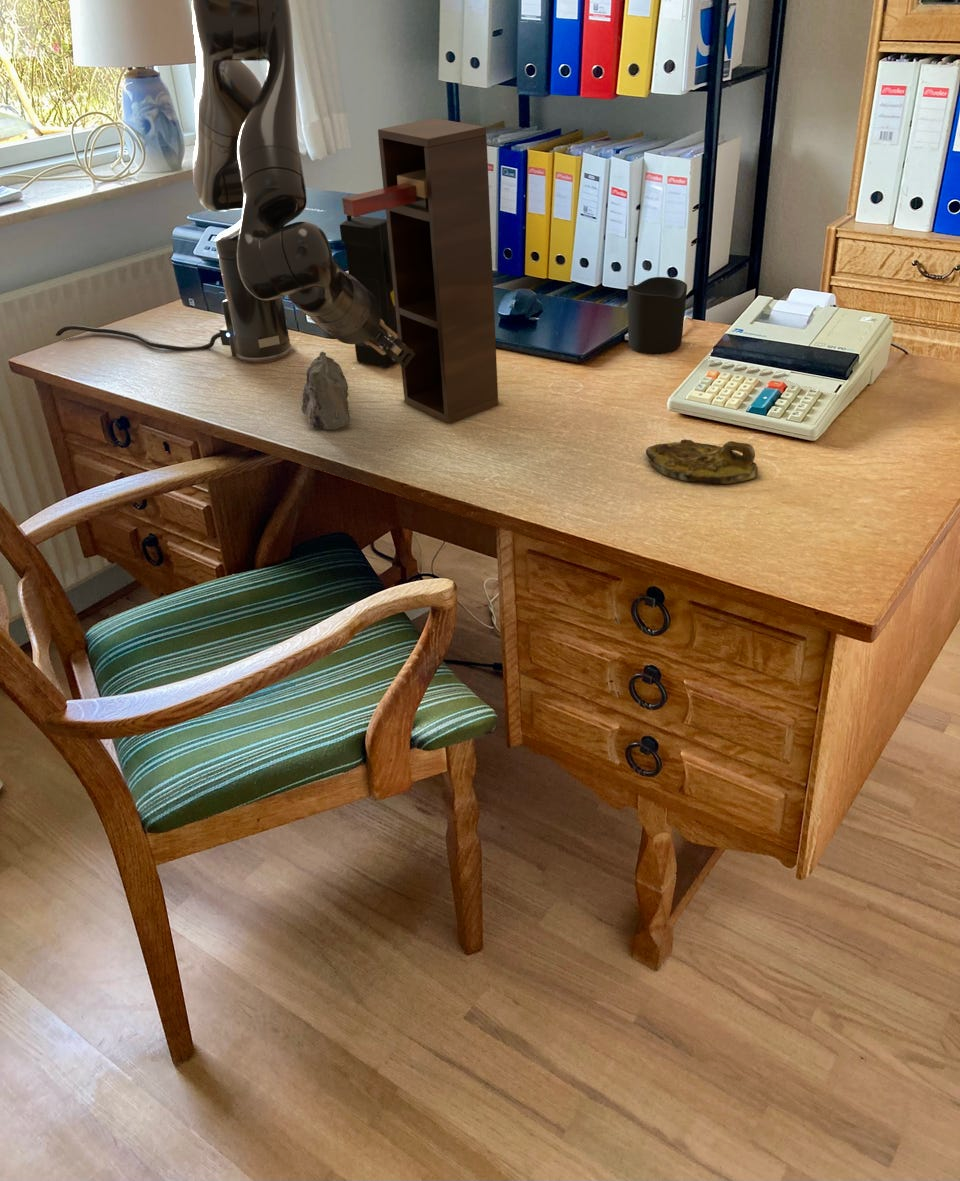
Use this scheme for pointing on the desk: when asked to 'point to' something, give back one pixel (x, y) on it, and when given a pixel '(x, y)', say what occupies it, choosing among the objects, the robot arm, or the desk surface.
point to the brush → (390, 195)
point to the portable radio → (371, 274)
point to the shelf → (443, 267)
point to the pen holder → (656, 315)
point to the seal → (704, 461)
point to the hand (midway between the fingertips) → (384, 341)
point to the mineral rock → (325, 394)
